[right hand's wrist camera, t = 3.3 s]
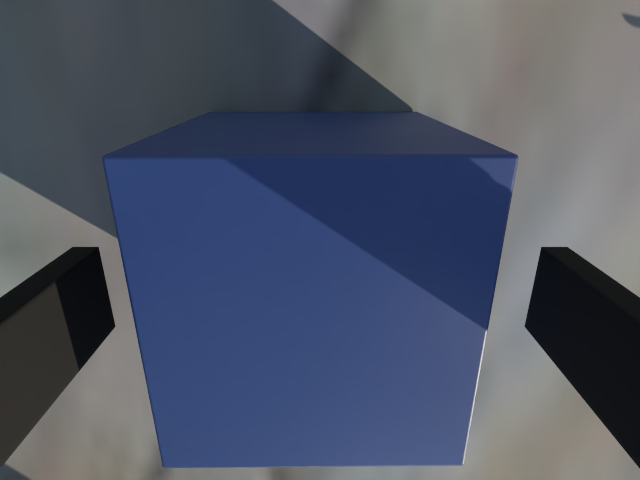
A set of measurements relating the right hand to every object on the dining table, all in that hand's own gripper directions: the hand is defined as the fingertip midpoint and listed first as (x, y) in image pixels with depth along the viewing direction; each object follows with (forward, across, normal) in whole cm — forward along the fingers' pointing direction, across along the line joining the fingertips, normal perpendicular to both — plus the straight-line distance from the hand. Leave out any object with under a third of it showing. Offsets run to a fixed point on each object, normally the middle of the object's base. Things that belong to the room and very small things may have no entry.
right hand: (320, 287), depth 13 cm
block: (+6, 0, 0) cm, 6 cm away
